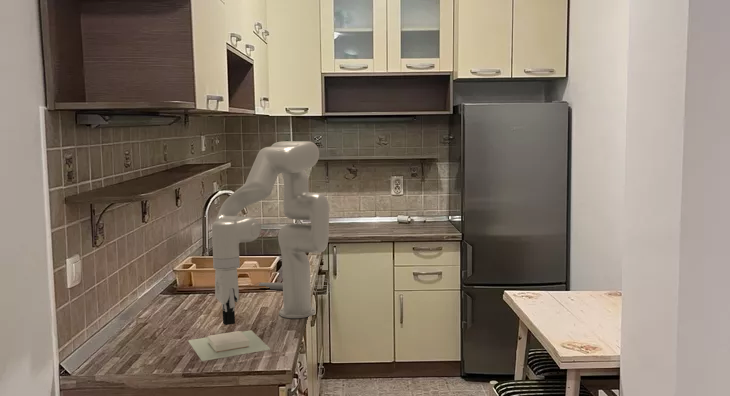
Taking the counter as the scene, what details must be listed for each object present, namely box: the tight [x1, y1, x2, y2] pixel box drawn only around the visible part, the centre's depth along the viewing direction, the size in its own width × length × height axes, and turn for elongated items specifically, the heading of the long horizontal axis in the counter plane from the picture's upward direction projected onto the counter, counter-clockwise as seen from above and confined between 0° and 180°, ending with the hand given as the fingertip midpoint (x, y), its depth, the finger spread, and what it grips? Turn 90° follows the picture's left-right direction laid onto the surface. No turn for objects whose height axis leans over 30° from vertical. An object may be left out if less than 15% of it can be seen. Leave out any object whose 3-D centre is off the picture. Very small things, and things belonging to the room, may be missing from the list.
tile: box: [207, 330, 249, 352], centre depth 196 cm, size 2×10×10 cm
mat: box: [187, 329, 271, 362], centre depth 196 cm, size 20×20×1 cm
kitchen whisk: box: [256, 277, 333, 295], centre depth 259 cm, size 6×34×6 cm, turn 69°
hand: (229, 323), depth 193 cm, fingers closed
